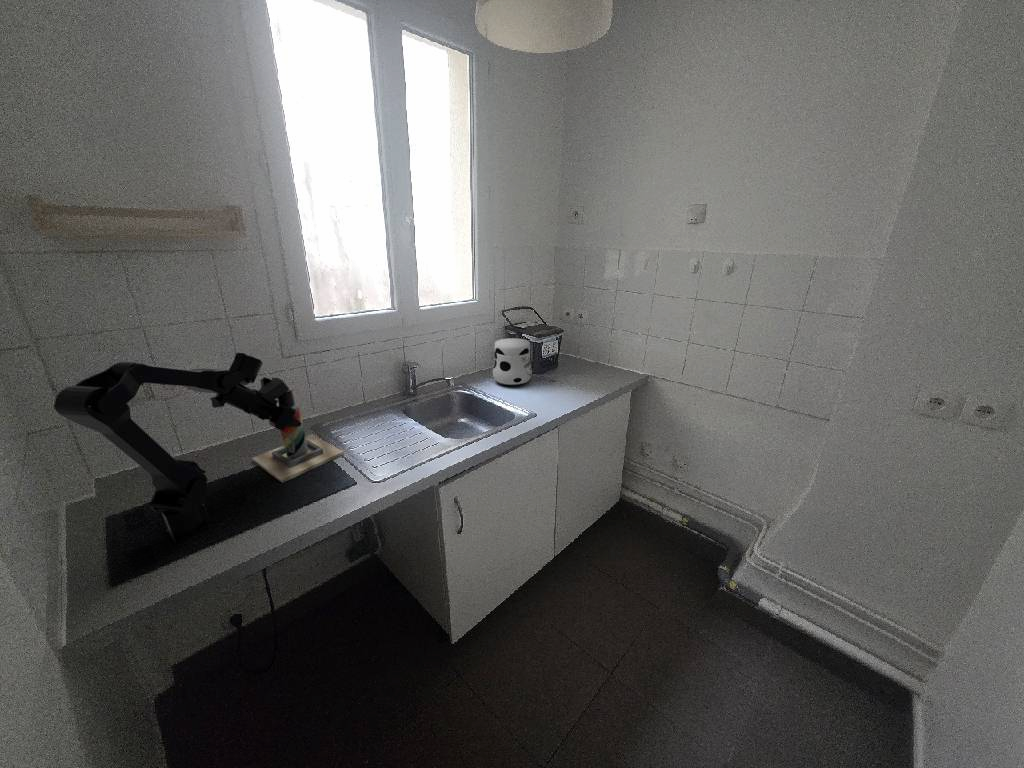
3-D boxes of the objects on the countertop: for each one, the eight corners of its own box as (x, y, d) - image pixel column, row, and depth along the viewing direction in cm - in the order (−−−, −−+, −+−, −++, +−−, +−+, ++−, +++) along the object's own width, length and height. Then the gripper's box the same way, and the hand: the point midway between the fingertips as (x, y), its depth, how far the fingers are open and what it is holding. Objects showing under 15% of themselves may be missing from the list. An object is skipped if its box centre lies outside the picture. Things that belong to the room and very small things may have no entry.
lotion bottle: (284, 459, 114) (269, 395, 107) (289, 450, 119) (275, 387, 112) (306, 457, 115) (293, 393, 108) (310, 447, 120) (297, 385, 113)
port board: (282, 482, 106) (280, 475, 105) (252, 461, 116) (250, 453, 115) (343, 454, 120) (342, 447, 119) (312, 437, 130) (311, 430, 129)
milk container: (539, 384, 175) (540, 344, 168) (504, 391, 166) (504, 350, 160) (518, 372, 188) (519, 335, 182) (486, 379, 180) (485, 340, 174)
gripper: (280, 379, 100) (329, 405, 112) (248, 365, 110) (295, 390, 122) (253, 418, 97) (306, 441, 109) (223, 400, 107) (274, 423, 119)
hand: (295, 422), depth 115 cm, fingers closed on lotion bottle, 5 cm apart
